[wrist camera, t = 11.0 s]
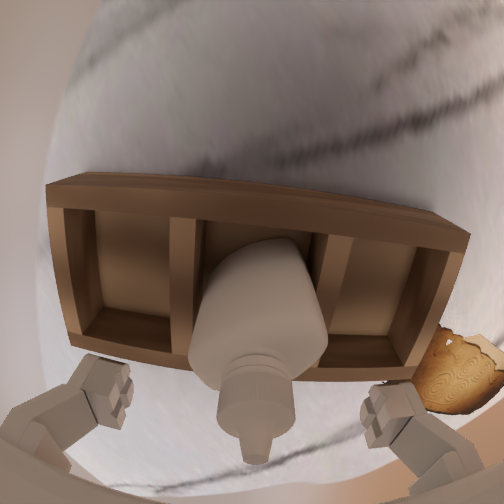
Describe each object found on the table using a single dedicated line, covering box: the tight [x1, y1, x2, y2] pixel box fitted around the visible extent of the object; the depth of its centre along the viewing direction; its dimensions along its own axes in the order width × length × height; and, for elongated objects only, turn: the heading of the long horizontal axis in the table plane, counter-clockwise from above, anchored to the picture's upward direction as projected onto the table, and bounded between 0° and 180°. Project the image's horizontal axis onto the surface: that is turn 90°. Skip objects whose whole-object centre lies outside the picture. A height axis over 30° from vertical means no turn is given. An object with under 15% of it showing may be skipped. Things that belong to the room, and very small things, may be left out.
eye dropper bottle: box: [188, 238, 328, 465], centre depth 12 cm, size 4×6×12 cm
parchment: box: [382, 324, 504, 415], centre depth 23 cm, size 25×10×1 cm, turn 60°
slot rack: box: [46, 172, 471, 382], centre depth 17 cm, size 10×23×4 cm, turn 84°
